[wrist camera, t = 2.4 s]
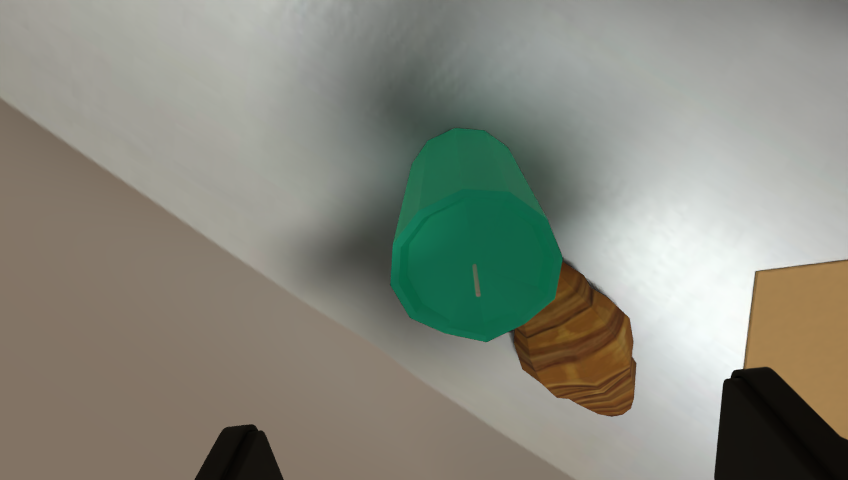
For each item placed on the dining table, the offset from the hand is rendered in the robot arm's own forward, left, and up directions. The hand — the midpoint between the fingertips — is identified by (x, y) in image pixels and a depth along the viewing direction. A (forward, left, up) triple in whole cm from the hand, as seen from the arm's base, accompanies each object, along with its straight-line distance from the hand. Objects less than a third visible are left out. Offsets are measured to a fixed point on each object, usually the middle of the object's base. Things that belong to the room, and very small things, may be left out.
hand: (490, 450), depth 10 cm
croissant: (+10, +5, -18) cm, 21 cm away
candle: (0, 0, -18) cm, 18 cm away
